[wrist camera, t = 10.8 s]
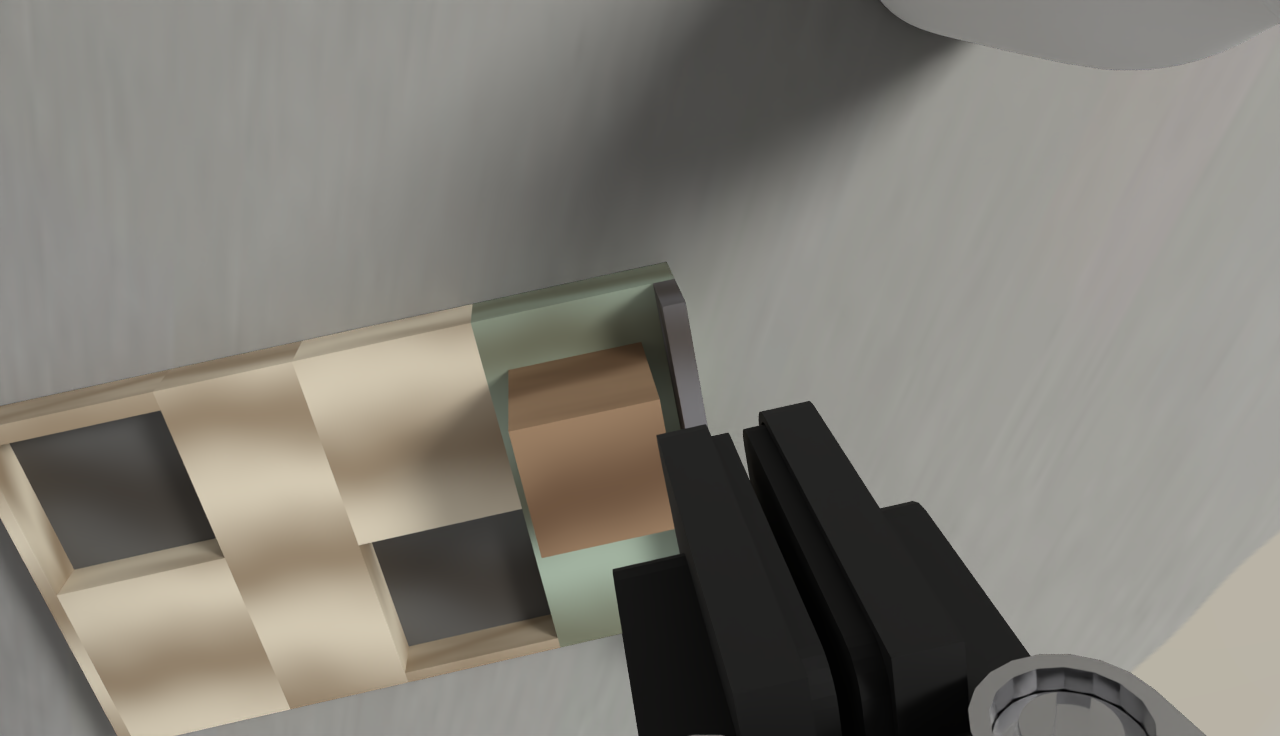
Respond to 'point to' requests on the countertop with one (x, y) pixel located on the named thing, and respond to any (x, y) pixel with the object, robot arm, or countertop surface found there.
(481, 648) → the trap board
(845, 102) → the countertop surface
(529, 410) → the walnut block
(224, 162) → the countertop surface
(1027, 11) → the milk bottle
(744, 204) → the countertop surface
